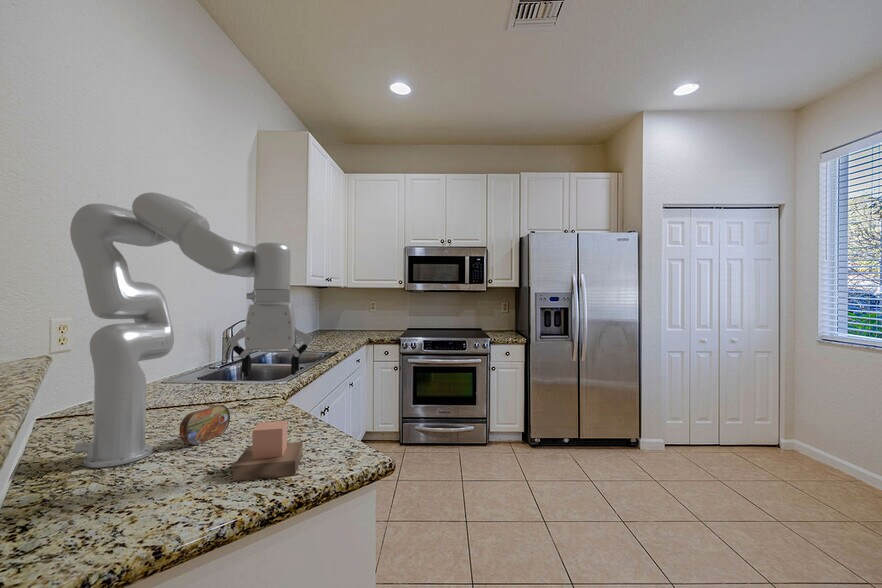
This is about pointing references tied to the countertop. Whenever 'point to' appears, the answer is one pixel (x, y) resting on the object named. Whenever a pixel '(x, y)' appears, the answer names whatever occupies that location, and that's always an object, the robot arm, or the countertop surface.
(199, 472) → the countertop surface
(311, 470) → the countertop surface
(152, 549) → the countertop surface
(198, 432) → the tin
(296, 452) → the base
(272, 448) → the cube
